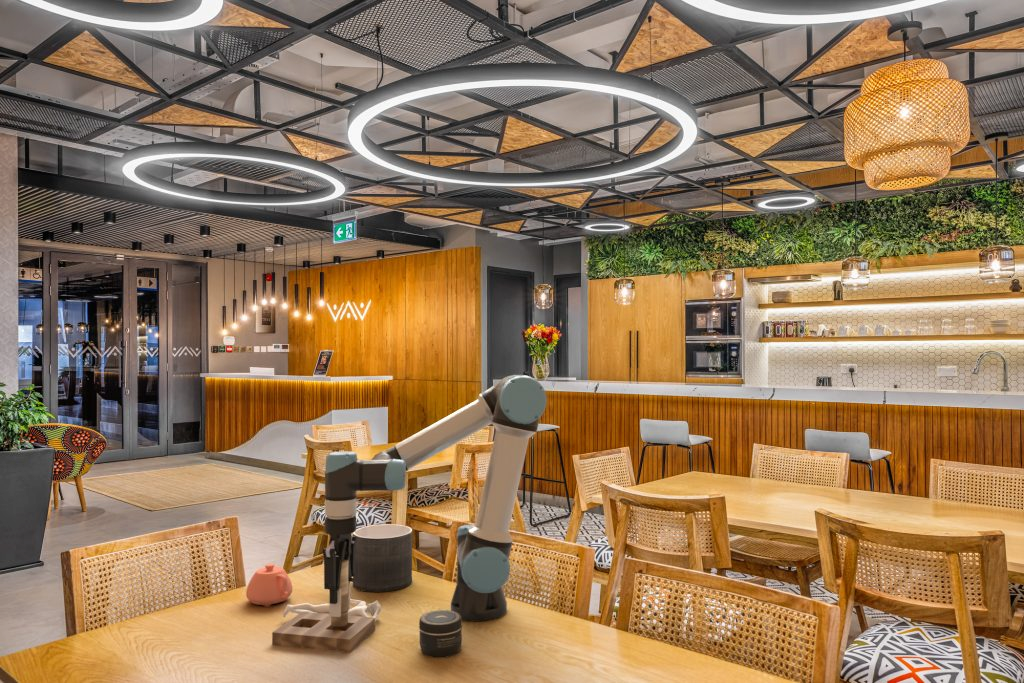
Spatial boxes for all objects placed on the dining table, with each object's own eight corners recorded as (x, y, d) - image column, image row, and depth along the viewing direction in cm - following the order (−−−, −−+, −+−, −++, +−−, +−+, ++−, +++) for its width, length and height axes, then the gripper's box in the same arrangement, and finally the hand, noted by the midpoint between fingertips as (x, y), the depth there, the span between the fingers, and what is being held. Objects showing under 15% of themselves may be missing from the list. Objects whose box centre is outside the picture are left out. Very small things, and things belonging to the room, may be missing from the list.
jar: (414, 645, 164) (414, 613, 165) (454, 638, 168) (454, 607, 168) (426, 662, 155) (426, 627, 155) (468, 654, 159) (468, 621, 159)
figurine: (284, 629, 180) (380, 630, 180) (278, 622, 176) (376, 622, 175) (291, 600, 185) (384, 600, 185) (285, 592, 181) (380, 593, 180)
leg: (351, 621, 170) (351, 559, 171) (343, 627, 166) (343, 564, 166) (335, 619, 171) (336, 558, 171) (327, 626, 167) (328, 563, 167)
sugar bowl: (274, 591, 204) (275, 556, 204) (305, 600, 196) (305, 564, 196) (237, 603, 194) (237, 566, 194) (267, 613, 186) (267, 575, 186)
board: (375, 629, 174) (375, 617, 174) (349, 652, 160) (350, 639, 160) (302, 623, 178) (302, 611, 178) (272, 645, 165) (272, 632, 165)
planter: (343, 591, 204) (343, 537, 204) (365, 573, 221) (365, 523, 222) (401, 594, 201) (401, 539, 201) (419, 575, 218) (419, 525, 219)
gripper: (342, 507, 178) (341, 599, 178) (308, 522, 162) (307, 624, 161) (369, 509, 177) (369, 602, 176) (338, 524, 160) (337, 627, 159)
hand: (339, 612), depth 169 cm, fingers closed on leg, 4 cm apart
